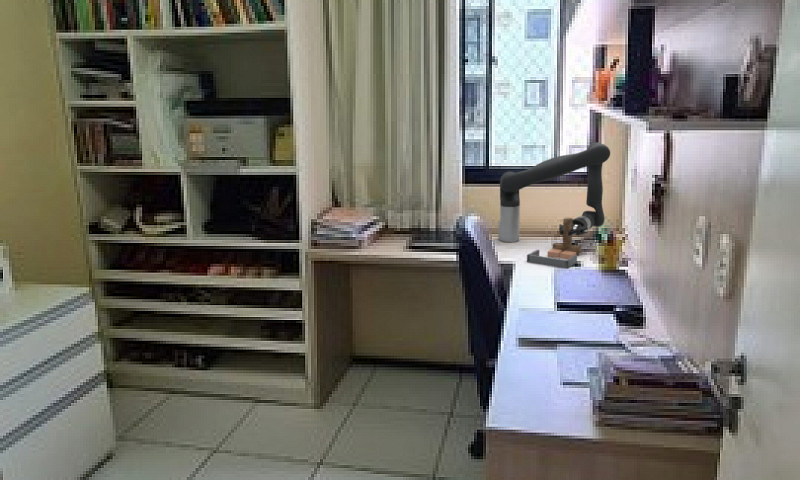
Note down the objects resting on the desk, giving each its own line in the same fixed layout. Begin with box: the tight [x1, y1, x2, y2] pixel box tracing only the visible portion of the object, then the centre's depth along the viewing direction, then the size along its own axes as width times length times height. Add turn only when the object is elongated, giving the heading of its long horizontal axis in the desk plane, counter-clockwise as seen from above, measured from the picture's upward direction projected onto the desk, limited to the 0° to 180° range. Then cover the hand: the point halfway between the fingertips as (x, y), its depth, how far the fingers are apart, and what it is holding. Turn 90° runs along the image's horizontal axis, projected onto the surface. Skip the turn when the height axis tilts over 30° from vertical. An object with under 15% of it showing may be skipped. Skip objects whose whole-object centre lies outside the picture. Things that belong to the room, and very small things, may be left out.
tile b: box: [559, 251, 577, 260], centre depth 252 cm, size 5×5×2 cm
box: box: [526, 249, 578, 269], centre depth 246 cm, size 18×10×3 cm, turn 52°
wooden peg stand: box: [552, 217, 582, 255], centre depth 256 cm, size 12×3×15 cm, turn 52°
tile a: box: [547, 248, 562, 259], centre depth 255 cm, size 5×5×2 cm
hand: (565, 233), depth 254 cm, fingers closed on wooden peg stand, 3 cm apart
